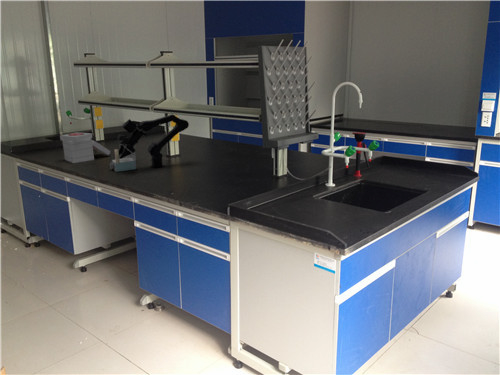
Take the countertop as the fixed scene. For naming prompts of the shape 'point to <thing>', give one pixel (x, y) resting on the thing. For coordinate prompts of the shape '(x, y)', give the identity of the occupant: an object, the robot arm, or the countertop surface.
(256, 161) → the countertop surface
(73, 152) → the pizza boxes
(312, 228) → the countertop surface
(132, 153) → the supplement box
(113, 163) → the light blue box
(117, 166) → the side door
